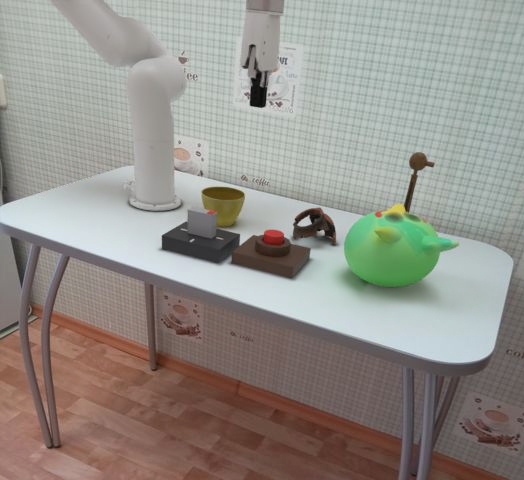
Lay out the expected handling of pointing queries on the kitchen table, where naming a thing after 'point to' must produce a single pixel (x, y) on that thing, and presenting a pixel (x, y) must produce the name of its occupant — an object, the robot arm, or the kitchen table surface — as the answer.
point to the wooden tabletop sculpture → (415, 175)
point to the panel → (200, 243)
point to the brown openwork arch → (314, 224)
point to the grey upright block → (202, 222)
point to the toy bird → (393, 247)
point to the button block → (271, 256)
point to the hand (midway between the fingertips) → (257, 106)
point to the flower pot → (223, 203)
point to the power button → (273, 237)
